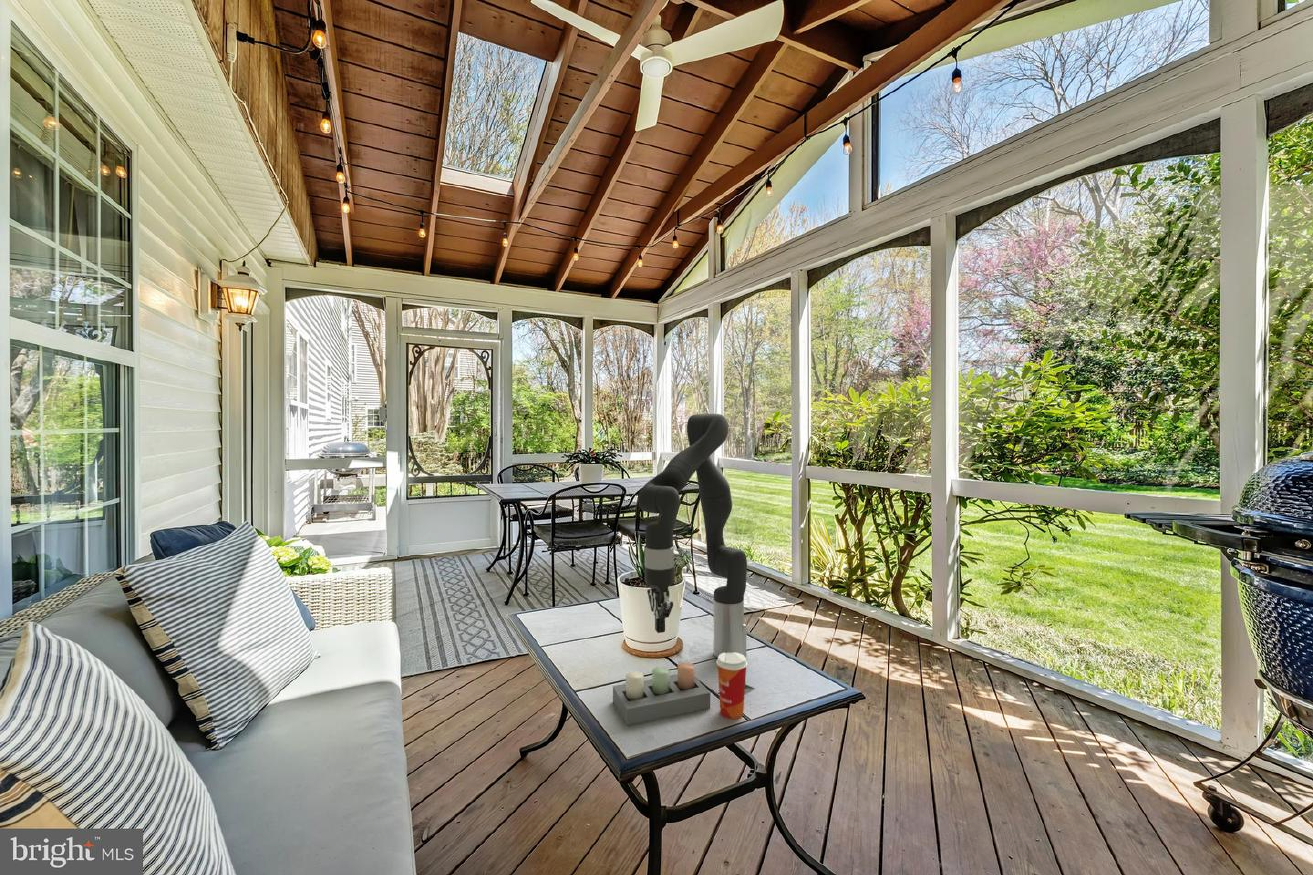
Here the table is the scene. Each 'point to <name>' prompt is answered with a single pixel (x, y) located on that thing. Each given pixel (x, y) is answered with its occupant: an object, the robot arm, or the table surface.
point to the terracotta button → (686, 676)
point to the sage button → (660, 680)
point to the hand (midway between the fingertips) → (660, 631)
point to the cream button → (634, 685)
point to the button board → (660, 702)
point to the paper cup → (731, 683)
